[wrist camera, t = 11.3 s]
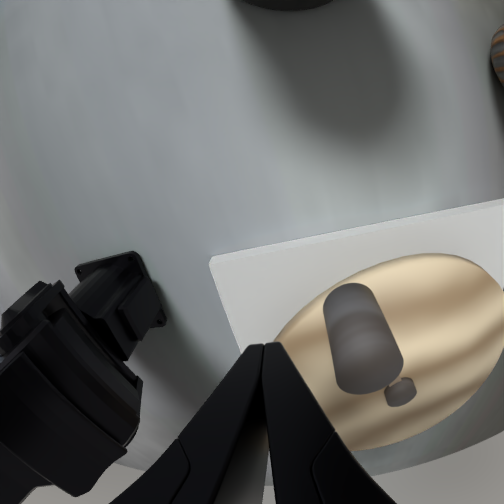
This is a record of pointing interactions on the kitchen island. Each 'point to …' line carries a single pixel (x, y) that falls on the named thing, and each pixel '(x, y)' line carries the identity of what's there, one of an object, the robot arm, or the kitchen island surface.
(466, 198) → the kitchen island surface
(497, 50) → the vase
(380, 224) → the base plate
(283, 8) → the pen holder
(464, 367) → the handwheel
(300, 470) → the robot arm
